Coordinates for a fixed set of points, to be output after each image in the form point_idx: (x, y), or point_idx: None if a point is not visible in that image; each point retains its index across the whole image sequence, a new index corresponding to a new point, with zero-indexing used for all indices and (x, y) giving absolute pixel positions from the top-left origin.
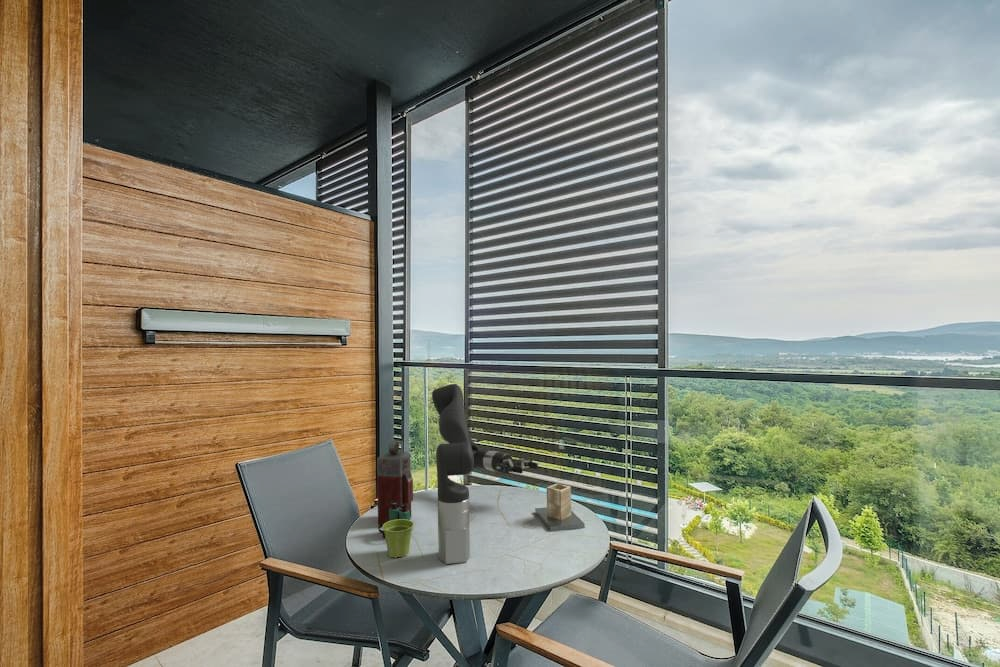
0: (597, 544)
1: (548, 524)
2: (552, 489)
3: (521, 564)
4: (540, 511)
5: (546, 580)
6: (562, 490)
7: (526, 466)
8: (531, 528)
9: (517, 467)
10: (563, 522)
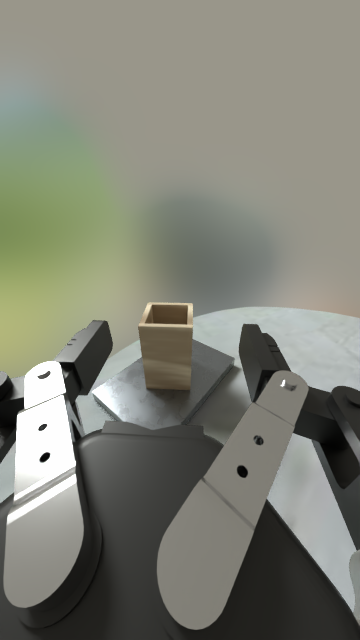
0: (215, 314)
1: (228, 365)
2: (192, 317)
3: (352, 341)
4: (171, 421)
5: (332, 314)
6: (185, 304)
7: (77, 413)
8: None
9: (264, 346)
10: (197, 352)
